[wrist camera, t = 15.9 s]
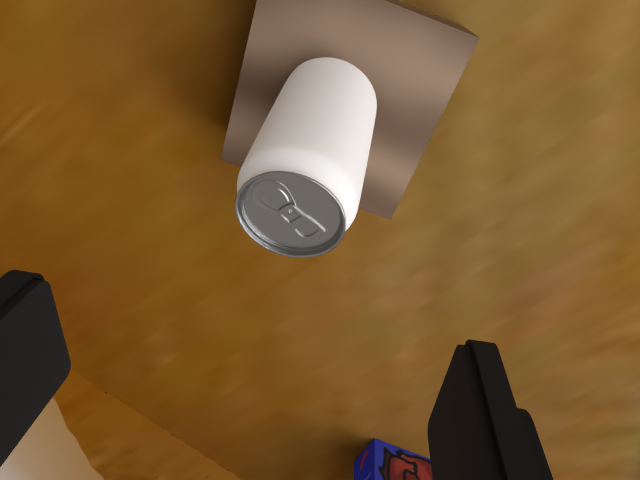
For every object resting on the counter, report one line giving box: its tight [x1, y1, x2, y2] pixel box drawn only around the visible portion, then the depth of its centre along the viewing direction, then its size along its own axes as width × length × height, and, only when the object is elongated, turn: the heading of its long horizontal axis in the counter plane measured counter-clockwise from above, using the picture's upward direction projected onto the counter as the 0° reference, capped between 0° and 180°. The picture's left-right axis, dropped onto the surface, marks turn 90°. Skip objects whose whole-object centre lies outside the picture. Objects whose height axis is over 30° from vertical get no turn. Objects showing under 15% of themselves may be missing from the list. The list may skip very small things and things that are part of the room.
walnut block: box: [221, 0, 479, 220], centre depth 34 cm, size 14×14×6 cm
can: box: [235, 57, 377, 258], centre depth 26 cm, size 6×6×12 cm
